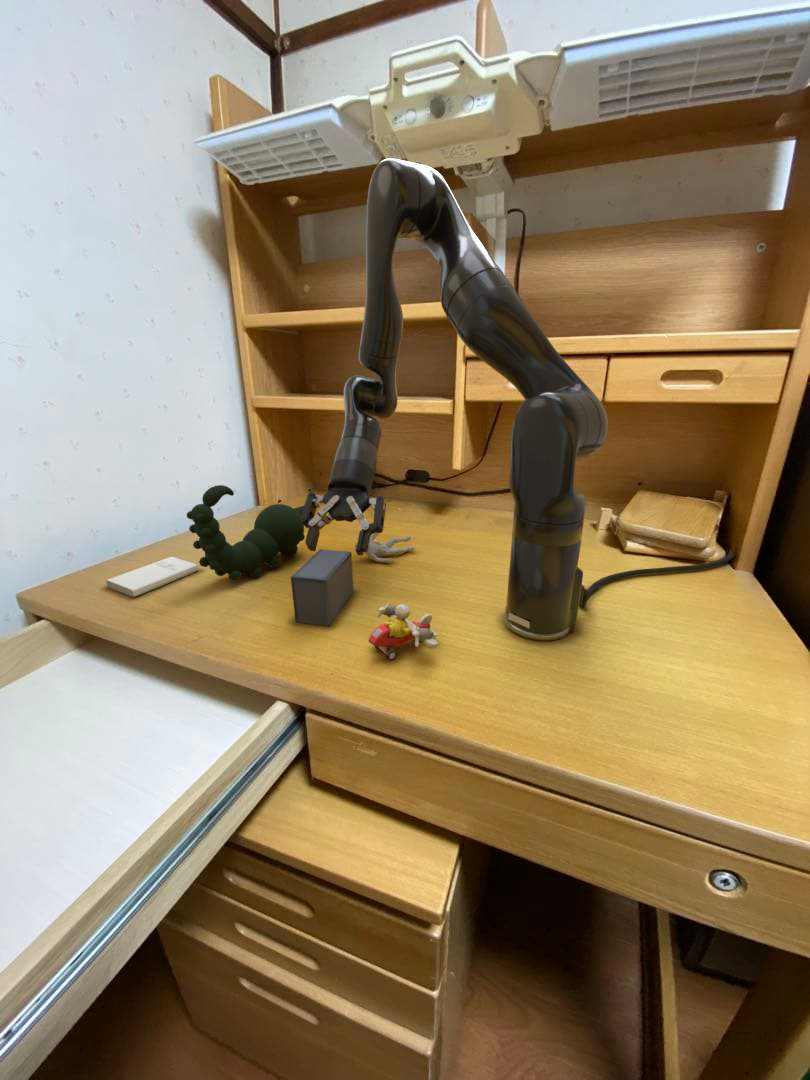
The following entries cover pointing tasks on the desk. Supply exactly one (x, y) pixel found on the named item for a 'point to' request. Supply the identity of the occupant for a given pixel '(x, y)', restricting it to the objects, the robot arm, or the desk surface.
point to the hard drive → (151, 576)
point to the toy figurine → (259, 546)
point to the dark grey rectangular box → (322, 587)
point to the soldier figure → (385, 548)
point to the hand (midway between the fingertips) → (335, 551)
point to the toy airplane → (401, 630)
